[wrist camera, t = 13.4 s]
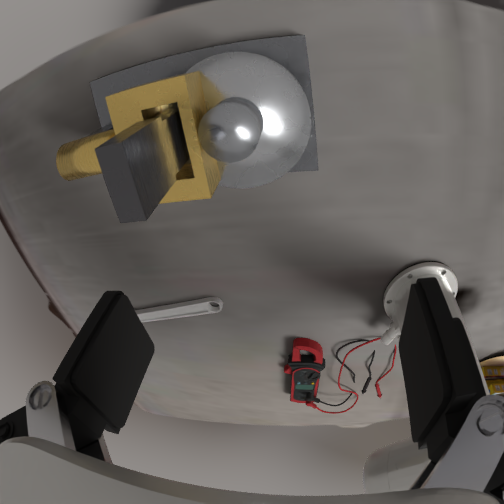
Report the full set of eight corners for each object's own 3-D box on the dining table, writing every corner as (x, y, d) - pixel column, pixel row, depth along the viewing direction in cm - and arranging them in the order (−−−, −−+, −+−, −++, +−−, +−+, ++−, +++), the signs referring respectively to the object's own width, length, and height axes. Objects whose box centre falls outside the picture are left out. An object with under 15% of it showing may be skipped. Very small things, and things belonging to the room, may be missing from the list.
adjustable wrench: (219, 292, 50) (217, 300, 49) (232, 319, 54) (231, 327, 52) (101, 304, 56) (98, 311, 55) (118, 326, 60) (115, 333, 58)
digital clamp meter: (282, 414, 65) (283, 353, 50) (283, 398, 69) (285, 333, 54) (382, 413, 62) (418, 352, 47) (380, 397, 66) (413, 332, 51)
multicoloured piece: (304, 35, 26) (309, 29, 18) (317, 165, 35) (325, 213, 26) (96, 80, 31) (36, 101, 22) (126, 186, 40) (83, 232, 31)
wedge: (185, 101, 26) (121, 142, 16) (197, 154, 29) (146, 220, 19) (165, 105, 26) (94, 149, 16) (177, 156, 29) (120, 223, 19)
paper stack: (425, 405, 67) (433, 461, 54) (478, 349, 52) (498, 417, 39) (488, 399, 66) (499, 447, 53) (539, 348, 51) (559, 401, 38)
